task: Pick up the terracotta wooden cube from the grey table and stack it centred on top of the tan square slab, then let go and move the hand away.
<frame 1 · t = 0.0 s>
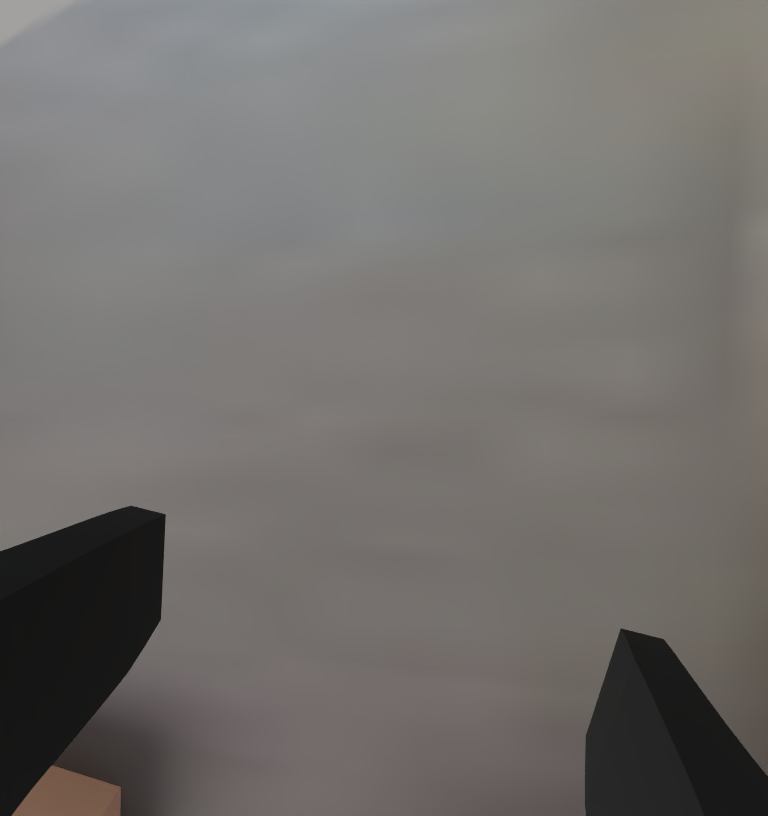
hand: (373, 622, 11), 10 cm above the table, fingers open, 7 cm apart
terracotta cube: (66, 812, 30), on the table
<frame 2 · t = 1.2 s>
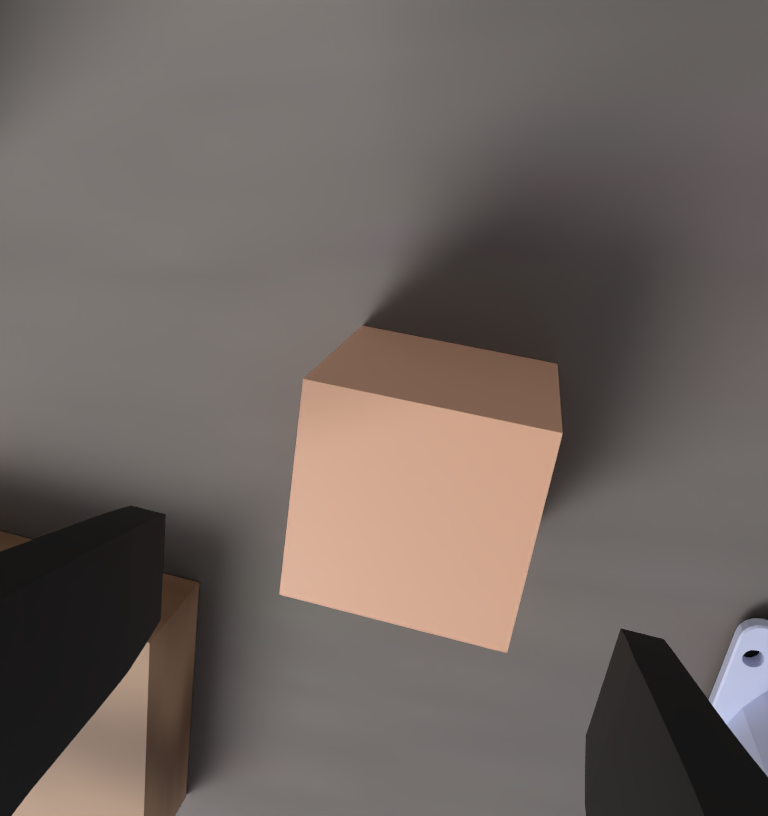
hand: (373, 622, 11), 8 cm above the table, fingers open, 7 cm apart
terracotta cube: (441, 433, 19), on the table
tan square slab: (69, 661, 24), on the table
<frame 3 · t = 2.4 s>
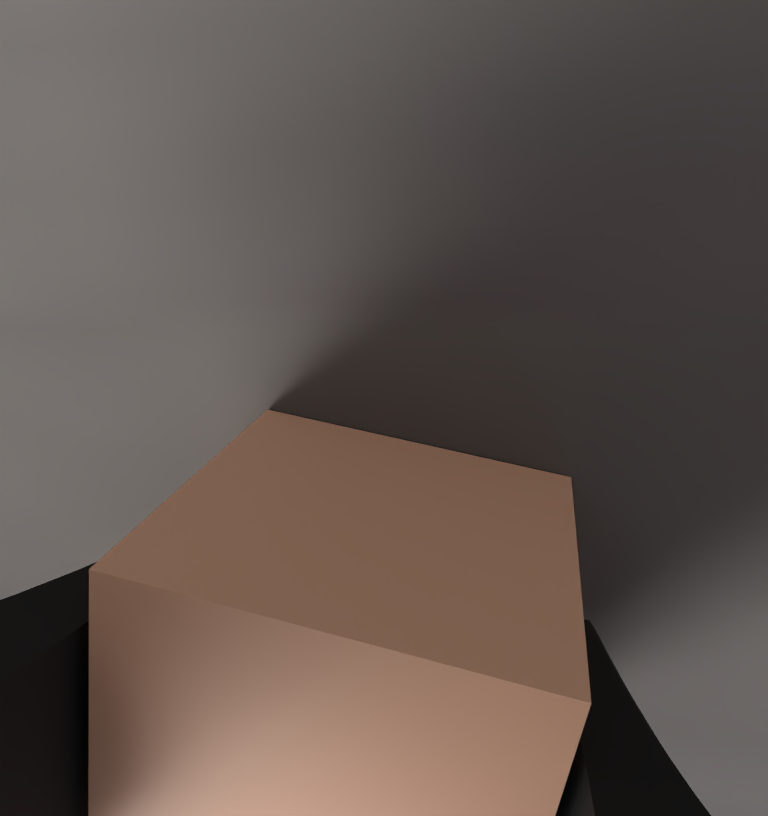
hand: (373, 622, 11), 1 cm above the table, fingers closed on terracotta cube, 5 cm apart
terracotta cube: (390, 573, 12), on the table, touching gripper
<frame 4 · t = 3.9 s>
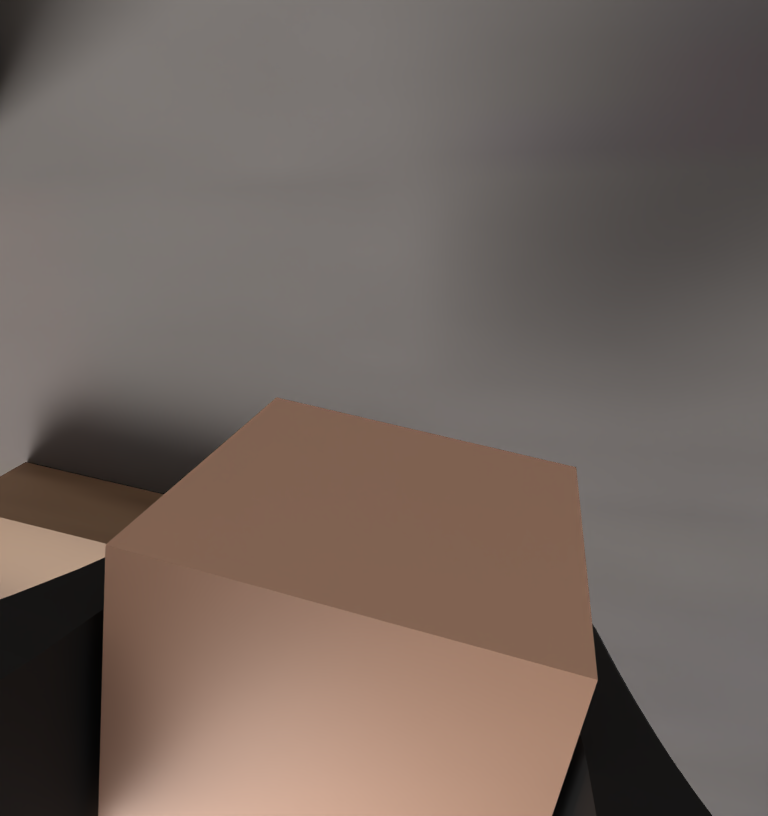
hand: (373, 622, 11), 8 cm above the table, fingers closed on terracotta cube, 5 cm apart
terracotta cube: (396, 561, 12), point 7 cm above the table, touching gripper
tan square slab: (155, 617, 23), on the table
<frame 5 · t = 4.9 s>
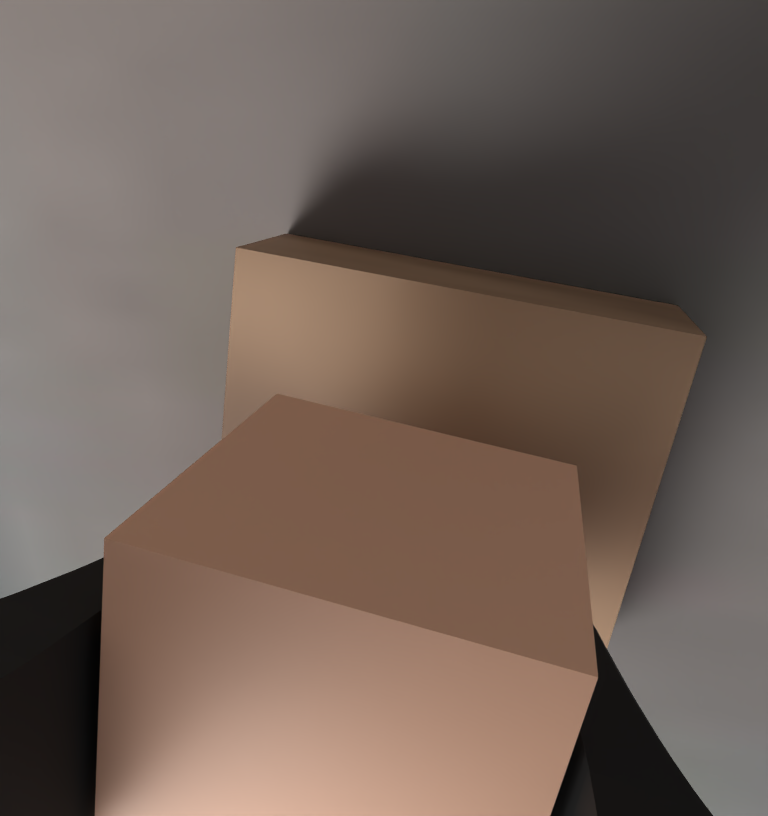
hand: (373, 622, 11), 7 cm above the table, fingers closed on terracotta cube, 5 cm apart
terracotta cube: (395, 559, 12), point 6 cm above the table, touching gripper
tan square slab: (439, 447, 18), on the table
when the fingers open (6 cm above the table, at t = 5.6 s): terracotta cube drops 1 cm, resting on tan square slab.
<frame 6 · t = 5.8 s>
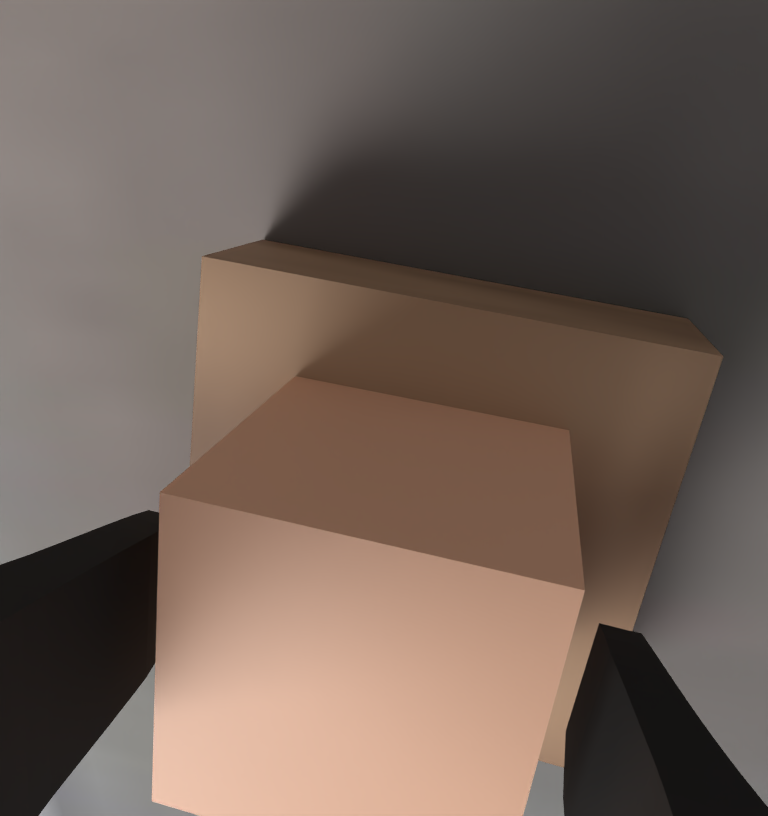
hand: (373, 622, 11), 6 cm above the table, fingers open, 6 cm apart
terracotta cube: (408, 524, 14), point 3 cm above the table, touching tan square slab
tan square slab: (429, 470, 16), on the table
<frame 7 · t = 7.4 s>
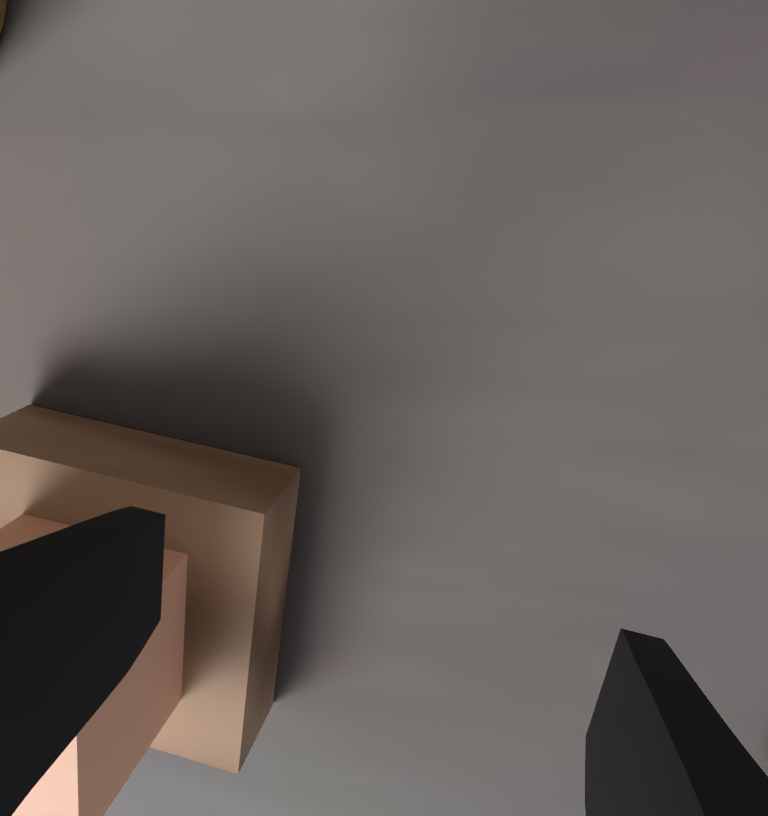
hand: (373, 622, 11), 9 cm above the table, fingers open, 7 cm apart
terracotta cube: (104, 608, 20), point 3 cm above the table, touching tan square slab
tan square slab: (156, 560, 23), on the table
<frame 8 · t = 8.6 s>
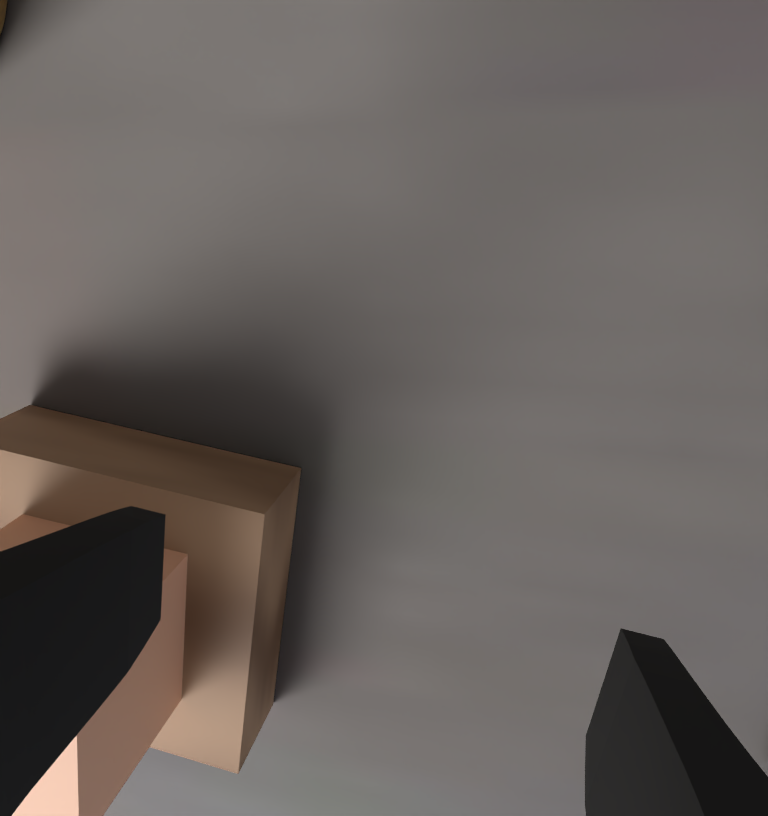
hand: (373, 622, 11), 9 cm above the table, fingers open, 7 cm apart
terracotta cube: (104, 608, 21), point 3 cm above the table, touching tan square slab
tan square slab: (156, 560, 23), on the table
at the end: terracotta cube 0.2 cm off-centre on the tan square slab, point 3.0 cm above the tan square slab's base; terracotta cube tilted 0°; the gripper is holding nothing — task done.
